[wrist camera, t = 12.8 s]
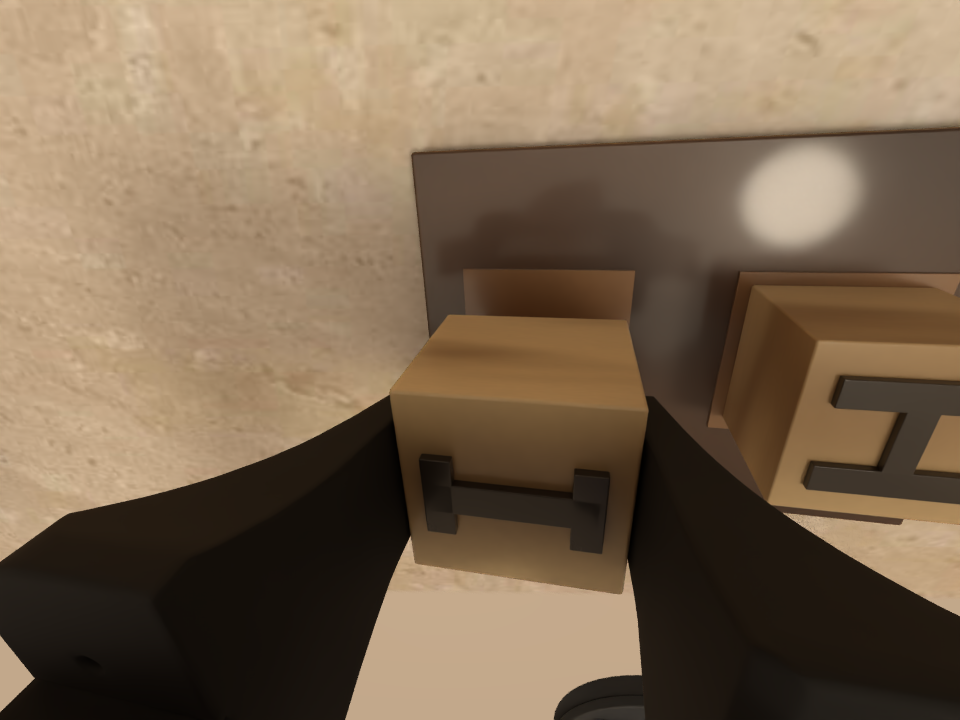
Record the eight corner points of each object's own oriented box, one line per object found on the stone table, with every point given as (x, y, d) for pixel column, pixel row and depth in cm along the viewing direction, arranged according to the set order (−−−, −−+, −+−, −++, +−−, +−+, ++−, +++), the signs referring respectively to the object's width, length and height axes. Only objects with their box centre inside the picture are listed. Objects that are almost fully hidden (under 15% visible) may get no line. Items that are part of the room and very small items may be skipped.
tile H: (879, 428, 14) (989, 534, 10) (721, 417, 14) (768, 511, 11) (937, 287, 12) (1101, 354, 8) (751, 284, 13) (821, 344, 9)
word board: (884, 504, 16) (903, 528, 15) (449, 461, 19) (441, 478, 18) (1059, 122, 11) (1107, 120, 10) (420, 151, 14) (409, 152, 13)
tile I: (611, 467, 12) (623, 605, 9) (458, 453, 13) (410, 572, 10) (627, 318, 10) (651, 415, 7) (447, 313, 11) (382, 395, 8)
